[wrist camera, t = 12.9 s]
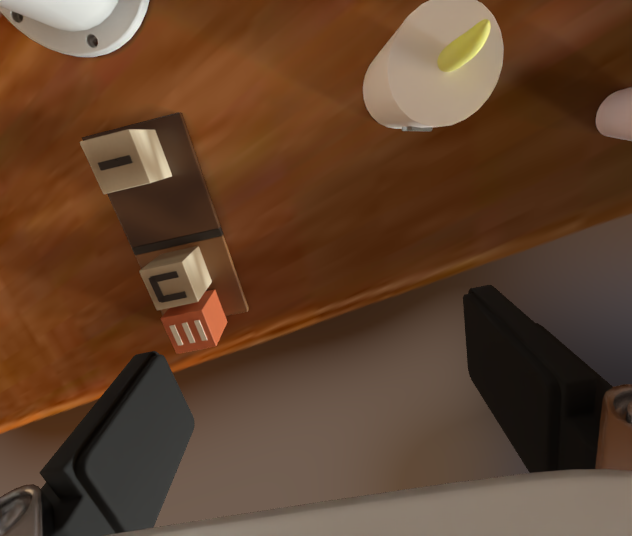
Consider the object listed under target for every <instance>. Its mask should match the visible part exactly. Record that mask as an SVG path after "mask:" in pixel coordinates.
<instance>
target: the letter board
mask: <svg viewBox="0 0 632 536" xmlns="http://www.w3.org/2000/svg"><path fill="white" fill-rule="evenodd" d="M127 129H154V130H155V131H156V134H157V136H158V139H159V142H160V144H161V147H162V149H163V152H164V155H165V157H166V160H167V163H168V165H169V168H170V171H171V173H172V177H168V178H165V179H162V180H159V181H156V182H152V183H149V184H145V185H141V186H136V187H132V188H128V189H124V190H120V191H116V192H112V193H108V197H109V199H110V201H111V203H112V205H113V208H114V210H115V212H116V214H117V216H118V219H119V221H120V223H121V225H122V227H123V230H124V232H125V234H126V236H127V238H128V241H129V243H130V245H131V247H132V250H133V252H134V254H135V255H136V258H137V260H138V263H139V265H140V267H141V269H142V268H144V267H145V266H146V265H147V264H149V263H150V262H151V261H153V260H154V259H155V258H156V257H158V256H159V255H160V254H163V253H168V252H172V251H177V250H181V249H186V248H190V247H195V246H199V248H200V251H201V254H202V256H203V259H204V262H205V264H206V267H207V270H208V272H209V275H210V278H211V280H212V283H211V284H210V286H209V287H208V288H207V290H206V291H209V290H214V289H215V290H216V293H217V296H218V298H219V301H220V304H221V306H222V309H223V312H224V314H225V316H228V315H233V314H238V313H243V312H247V311H248V310H249V308H248V305H247V302H246V299H245V296H244V293H243V290H242V287H241V285H240V282H239V279H238V276H237V273H236V270H235V267H234V264H233V261H232V258H231V255H230V252H229V250H228V247H227V244H226V241H225V238H224V235H223V232H222V229H221V227H220V223H219V220H218V217H217V214H216V212H215V209H214V206H213V203H212V200H211V197H210V194H209V191H208V188H207V185H206V182H205V179H204V176H203V174H202V171H201V168H200V165H199V162H198V159H197V156H196V153H195V150H194V147H193V144H192V141H191V139H190V136H189V133H188V130H187V127H186V124H185V121H184V118H183V115H182V113H175V114H171V115H167V116H163V117H159V118H155V119H152V120H148V121H144V122H140V123H136V124H132V125H128V126H125V127H121V128H117V129H113V130H109V131H105V132H101V133H98V134H94V135H90V136H86V137H82V139H83V141H84V140H88V139H92V138H96V137H100V136H104V135H108V134H112V133H115V132H119V131H123V130H127ZM168 309H169V308H166V309H162V310H160V311H161V313H162V315H164V314H165V313H166V311H167V310H168Z"/></svg>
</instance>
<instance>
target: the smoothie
mask: <svg viewBox="0 0 632 536" xmlns="http://www.w3.org/2000/svg"><path fill="white" fill-rule="evenodd" d="M596 126H597V129H598V130H599V132H600V133H601V134H603V135H605V136H608V137H614V138H619V139H624V140H629V141H632V87H630V88H626V89H623V90H619V91H616V92H614V93H612V94H611V95H610V96H608V97H607V98H606V99H605V100H604V101H603V102H602V104H601V105H600V107H599V109H598V111H597V114H596Z"/></svg>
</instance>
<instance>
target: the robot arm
mask: <svg viewBox="0 0 632 536" xmlns="http://www.w3.org/2000/svg"><path fill="white" fill-rule="evenodd" d="M148 4H149V0H0V11H1V13H2V14H3V15H4V16H5V17H6V18H7V19H8V20H9V21H10V22H11V23H12V24H13V25H14V26H15V27H16V28H17V29H18V30H20V31H21V32H22V33H24V34H25V35H26V36H27V37H29V38H30V39H31V40H33V41H35V42H37V43H39V44H41V45H42V46H44V47H46V48H48V49H51V50H54V51H57V52H60V53H63V54H67V55H71V56H76V57H96V56H101V55H106V54H108V53H111V52H113V51H115V50H117V49H119V48H120V47H121V46H123V45H124V44H125V43H126V42H127V41H129V40H130V39H131V38H132V36H133V35H134V34H135V32H136V31H137V30H138V28H139V27H140V25H141V23H142V21H143V18H144V16H145V14H146V12H147V8H148ZM97 41H98V45H97V44H96V42H97ZM463 304H464V318H465V333H466V346H467V360H468V371H469V374H470V377H471V380H472V381H473V383H474V384H475V386H476V388H477V389H478V391H479V392H480V394H481V396H482V397H483V399H484V401H485V402H486V404H487V405H488V407H489V408H490V410H491V412H492V413H493V415H494V417H495V418H496V420H497V421H498V423H499V424H500V426H501V428H502V429H503V431H504V433H505V434H506V436H507V437H508V439H509V441H510V442H511V444H512V445H513V446H514V448H515V450H516V452H517V453H518V455H519V456H520V458H521V459H522V461H523V463H524V464H525V466H526V468H527V469H528V471H529V472H530V473H526V474H517V475H510V476H502V477H494V478H486V479H478V480H471V481H462V482H454V483H447V484H440V485H434V486H426V487H420V488H413V489H406V490H399V491H393V492H385V493H378V494H371V495H365V496H357V497H351V498H344V499H337V500H330V501H324V502H317V503H310V504H304V505H298V506H291V507H284V508H277V509H271V510H264V511H257V512H251V513H244V514H237V515H231V516H225V517H218V518H212V519H205V520H199V521H192V522H186V523H180V524H174V525H167V526H160V527H154V525H155V522H156V520H157V517H158V515H159V512H160V510H161V507H162V505H163V503H164V500H165V498H166V495H167V493H168V490H169V488H170V485H171V483H172V481H173V478H174V476H175V473H176V471H177V469H178V466H179V464H180V461H181V459H182V456H183V454H184V451H185V449H186V447H187V444H188V442H189V439H190V437H191V435H192V432H193V429H194V418H193V415H192V413H191V411H190V409H189V407H188V405H187V403H186V401H185V399H184V397H183V394H182V392H181V390H180V388H179V386H178V384H177V382H176V380H175V378H174V376H173V373H172V371H171V369H170V367H169V365H168V363H167V361H166V359H165V357H164V356H163V355H159V353H157V352H155V351H152V352H147V353H142V354H138V355H135V356H134V357H133V358H132V359H131V361H130V362H129V363H128V364H127V366H126V367H125V368H124V369H123V370H122V372H121V373H120V374H119V375H118V377H117V378H116V379H115V380H114V382H113V383H112V384H111V385H110V387H109V388H108V389H107V390H106V391H105V393H104V394H103V395H102V396H101V398H100V399H99V400H98V401H97V403H96V404H95V405H94V406H93V407H92V409H91V410H90V411H89V413H88V414H87V415H86V416H85V417H84V419H83V420H82V421H81V422H80V424H79V425H78V426H77V427H76V428H75V430H74V431H73V432H72V434H71V435H70V436H69V437H68V438H67V440H66V441H65V442H64V443H63V444H62V446H61V447H60V448H59V449H58V451H57V452H56V453H55V454H54V456H53V457H52V458H51V459H50V460H49V462H48V463H47V464H46V465H45V467H44V468H43V469H42V470H41V472H40V474H41V475H42V477H43V478H44V479H45V481H46V483H45V485H44V486H43V487H42V488H41V489H40V488H39V487H38V486H36V485H24V486H22V487H19V488H16V489H14V490H12V491H10V492H8V493H6V494H4V495H3V496H2V497H0V536H632V385H620V386H616V387H612V386H611V385H610V384H609V383H608V382H607V381H605V380H604V379H603V378H602V377H601V376H600V375H598V374H597V373H596V372H595V371H594V370H593V369H591V368H590V367H589V366H588V365H587V364H586V363H585V362H583V361H582V360H581V359H580V358H579V357H578V356H576V355H575V354H574V353H573V352H572V351H571V350H569V349H568V348H567V347H566V346H565V345H564V344H562V343H561V342H560V341H559V340H558V339H557V338H555V337H554V336H553V335H552V334H551V333H550V332H548V331H547V330H546V329H545V328H544V327H543V326H541V325H539V324H537V323H534V322H533V321H532V320H531V319H530V318H529V317H528V316H526V315H525V314H524V313H523V312H522V311H521V310H520V309H518V308H517V307H516V306H515V305H514V304H513V303H512V302H510V301H509V300H508V299H507V298H506V297H505V296H504V295H502V294H501V293H500V292H499V291H498V290H497V289H496V288H494V287H493V286H492V285H486V286H481V287H476V288H471V289H470V290H469V293H468V294H466V295H464V297H463ZM153 527H154V528H153Z"/></svg>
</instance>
